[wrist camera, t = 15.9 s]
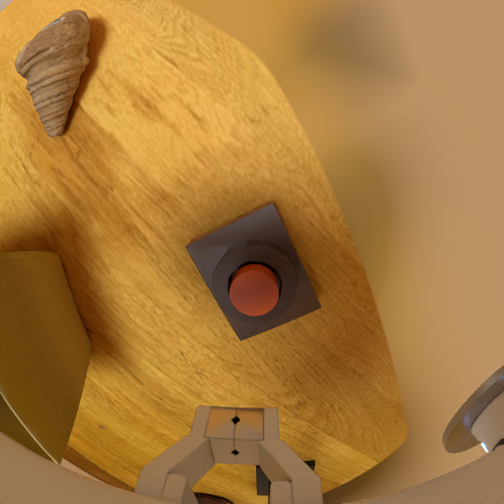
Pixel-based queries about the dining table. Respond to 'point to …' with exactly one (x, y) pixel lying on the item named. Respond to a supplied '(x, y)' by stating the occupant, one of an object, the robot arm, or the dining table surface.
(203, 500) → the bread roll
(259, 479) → the bracket
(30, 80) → the seashell
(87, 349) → the flower pot
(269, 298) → the button
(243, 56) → the dining table surface
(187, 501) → the robot arm
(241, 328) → the button block
